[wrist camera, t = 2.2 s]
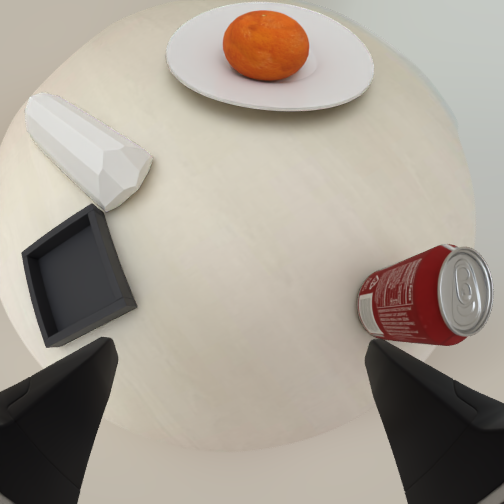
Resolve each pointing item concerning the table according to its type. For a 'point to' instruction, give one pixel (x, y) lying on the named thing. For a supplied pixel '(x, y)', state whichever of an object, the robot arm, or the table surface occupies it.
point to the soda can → (428, 297)
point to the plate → (270, 57)
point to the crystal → (87, 150)
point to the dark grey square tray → (76, 278)
